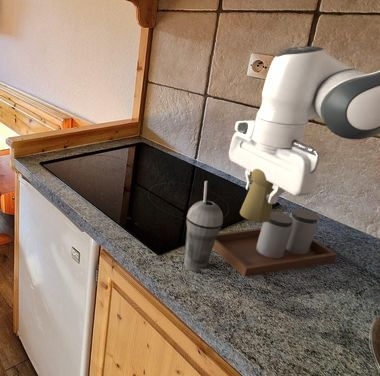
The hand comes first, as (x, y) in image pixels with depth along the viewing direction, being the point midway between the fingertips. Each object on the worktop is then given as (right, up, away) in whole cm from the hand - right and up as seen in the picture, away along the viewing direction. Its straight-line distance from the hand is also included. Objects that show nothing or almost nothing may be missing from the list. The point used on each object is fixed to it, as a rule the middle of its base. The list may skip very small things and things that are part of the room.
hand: (260, 196), depth 85 cm
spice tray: (+6, -14, +8) cm, 17 cm away
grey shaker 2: (+13, -12, +10) cm, 20 cm away
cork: (0, -4, +2) cm, 5 cm away
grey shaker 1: (+6, -13, +8) cm, 16 cm away
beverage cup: (-12, -15, +4) cm, 20 cm away
